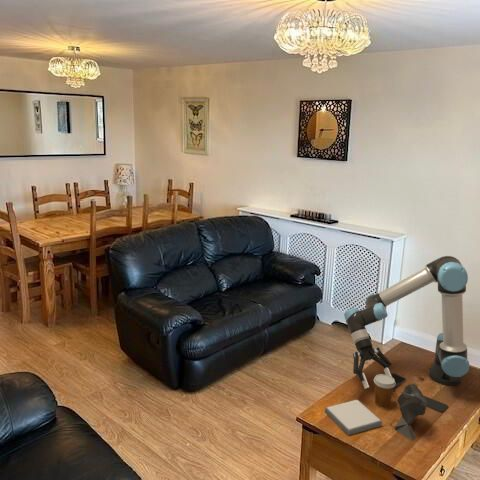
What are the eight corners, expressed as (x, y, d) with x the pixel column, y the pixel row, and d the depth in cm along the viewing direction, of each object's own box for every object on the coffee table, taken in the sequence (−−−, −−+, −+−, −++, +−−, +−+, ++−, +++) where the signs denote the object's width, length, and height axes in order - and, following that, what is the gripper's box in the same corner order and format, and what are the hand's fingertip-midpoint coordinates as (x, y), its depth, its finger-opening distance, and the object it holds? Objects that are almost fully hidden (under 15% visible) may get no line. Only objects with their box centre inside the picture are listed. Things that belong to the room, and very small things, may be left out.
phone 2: (377, 383, 229) (392, 372, 239) (376, 385, 229) (392, 374, 239) (392, 390, 223) (407, 378, 233) (391, 392, 224) (406, 380, 234)
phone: (416, 392, 223) (448, 405, 213) (416, 394, 223) (448, 407, 213) (409, 398, 217) (442, 412, 207) (409, 400, 218) (442, 414, 208)
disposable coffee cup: (394, 410, 209) (397, 386, 206) (372, 407, 211) (374, 383, 208) (391, 398, 218) (394, 374, 215) (370, 395, 220) (372, 372, 217)
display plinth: (356, 403, 213) (357, 398, 212) (381, 425, 198) (382, 420, 197) (324, 412, 206) (325, 407, 206) (348, 435, 191) (348, 430, 191)
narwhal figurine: (434, 427, 198) (439, 389, 193) (412, 440, 189) (417, 401, 185) (405, 410, 209) (409, 374, 204) (383, 422, 200) (387, 384, 196)
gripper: (379, 339, 231) (396, 382, 222) (336, 347, 222) (352, 392, 212) (387, 333, 225) (405, 377, 216) (343, 342, 216) (360, 388, 206)
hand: (379, 385), depth 214 cm, fingers open, 13 cm apart
